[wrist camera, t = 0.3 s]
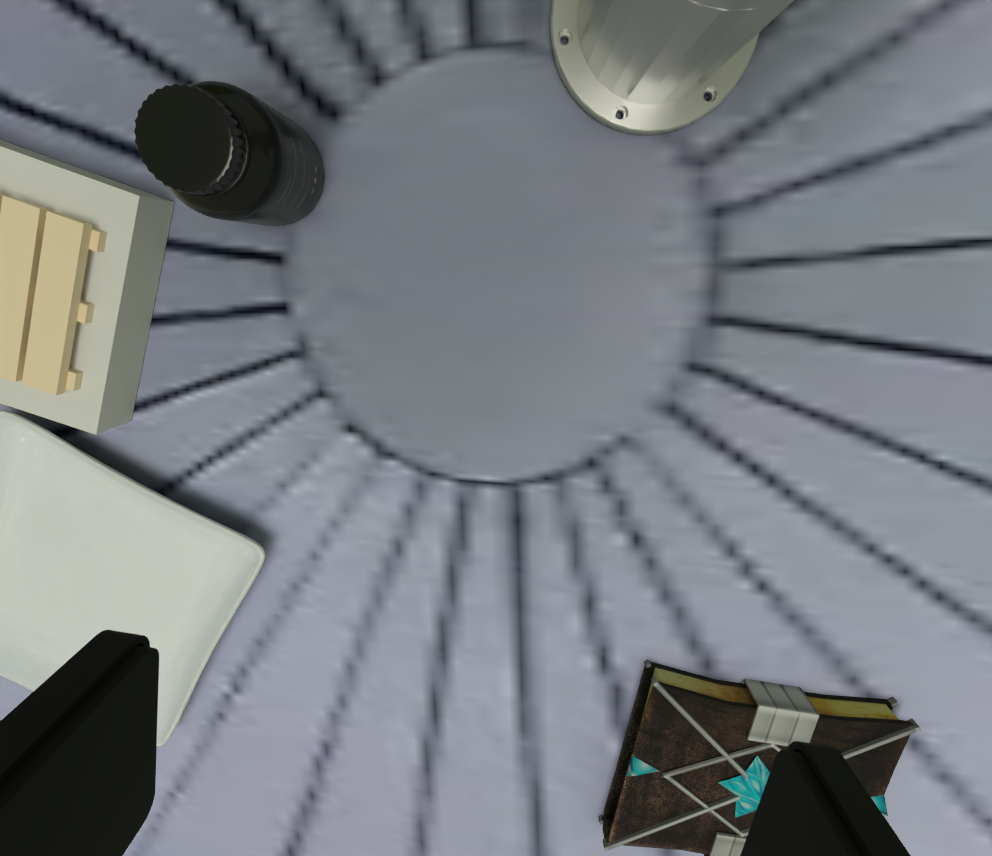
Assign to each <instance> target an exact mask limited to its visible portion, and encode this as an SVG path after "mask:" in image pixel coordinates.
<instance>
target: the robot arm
mask: <svg viewBox="0 0 992 856" xmlns="http://www.w3.org/2000/svg"><path fill="white" fill-rule="evenodd" d="M793 1H794V0H552V7H551V15H550V37H551V45H552V50H553V55H554V60H555V63H556V66H557V68H558V71H559V74H560V76H561V79H562V81H563V83H564V84H565V86H566V88H567V89H568V91H569V93H570V94H571V96H572V97H573V99H574V100H575V101H576V102H577V103H578V104H579V105H580V106H581V107H582V108H583V109H584V111H585V112H587V113H588V114H589V115H591V116H592V117H593V118H595V119H596V120H598V121H599V122H600V123H602V124H604V125H606V126H609V127H611V128H613V129H615V130H618V131H622V132H626V133H631V134H636V135H657V134H661V133H666V132H671V131H675V130H678V129H680V128H682V127H685V126H687V125H689V124H692V123H694V122H695V121H697V120H698V119H700V118H701V117H703V116H704V115H706V114H707V113H709V112H710V111H711V110H713V109H714V108H715V107H716V106H718V105H719V104H720V103H721V102H722V101H723V100H724V99H725V97H726V96H727V95H728V94H729V93H730V92H731V91H732V89H733V88H734V87H735V86H736V85H737V83H738V81H739V80H740V78H741V77H742V75H743V73H744V72H745V70H746V69H747V67H748V65H749V62H750V60H751V57H752V55H753V53H754V50H755V48H756V45H757V41H758V37H759V32H760V31H761V30H762V29H763V28H764V27H766V26H767V25H768V24H769V23H770V22H771V21H772V20H773V19H774V18H775V17H776V16H778V15H779V14H780V13H781V12H782V11H783V10H784V9H785V8H786V7H787V6H788V5H789V4H791V3H792V2H793ZM562 38H566V39H567V40H568V44H566V45H562V44H561V42H560V40H561V39H562ZM704 94H708V95H709V96H710V100H709V101H706V100H705V99H704V97H703V96H704ZM617 112H621V113H622V115H623V118H622V119H620V120H619V119H617V118H616V116H615V114H616V113H617ZM158 681H159V652H158V650H157V649H156V648H151V647H150V642H149V639H148V637H146V636H144V635H138V634H132V633H125V632H119V631H113V630H104V631H101V632H100V633H99V634H97V635H96V636H95V637H94V638H93V639H91V640H90V641H89V642H88V643H87V644H86V645H85V646H84V647H83V648H81V649H80V650H79V651H78V652H77V653H76V654H75V655H74V656H73V657H71V658H70V659H69V660H68V661H67V662H66V663H65V664H64V665H63V666H61V667H60V668H59V669H58V670H57V671H56V672H55V673H54V674H53V675H51V676H50V677H49V678H48V679H47V680H46V681H45V682H44V683H43V684H41V685H40V686H39V687H38V688H37V689H36V690H35V691H34V692H33V693H31V694H30V695H29V696H28V697H27V698H26V699H25V700H24V701H23V702H21V703H20V704H19V705H18V706H17V707H16V708H15V709H14V710H13V711H11V712H10V713H9V714H8V715H7V716H6V717H5V718H4V719H3V720H1V721H0V856H122V855H123V854H124V852H125V851H126V849H127V848H128V846H129V845H130V843H131V842H132V840H133V839H134V837H135V835H136V834H137V832H138V831H139V829H140V828H141V826H142V825H143V823H144V821H145V820H146V818H147V816H148V814H149V811H150V809H151V806H152V803H153V800H154V795H155V776H156V744H157V713H158ZM740 856H910V854H909V853H908V851H907V850H906V848H905V847H904V846H903V844H902V843H901V841H900V840H899V838H898V837H897V835H896V834H895V832H894V831H893V829H892V828H891V826H890V825H889V823H888V822H887V820H886V819H885V817H884V816H883V815H882V813H881V812H880V810H879V809H878V807H877V806H876V804H875V803H874V801H873V800H872V798H871V797H870V795H869V794H868V792H867V791H866V789H865V788H864V787H863V785H862V784H861V782H860V781H859V779H858V778H857V776H856V775H855V773H854V772H853V770H852V769H851V767H850V766H849V764H848V763H847V761H846V760H845V759H844V757H843V756H842V754H841V753H840V752H839V751H838V750H837V749H835V748H833V747H830V746H824V745H818V744H812V743H805V742H799V741H794V742H792V743H791V744H789V746H788V748H787V750H780V751H779V752H778V753H777V755H776V757H775V760H774V763H773V766H772V768H771V771H770V774H769V777H768V780H767V782H766V785H765V788H764V791H763V793H762V796H761V799H760V802H759V805H758V807H757V810H756V813H755V816H754V819H753V821H752V824H751V827H750V830H749V833H748V835H747V838H746V841H745V844H744V847H743V849H742V852H741V855H740Z"/></svg>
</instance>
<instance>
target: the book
mask: <svg viewBox="0 0 992 856" xmlns="http://www.w3.org/2000/svg"><path fill="white" fill-rule="evenodd" d="M644 663H645V668H644V671H643V675H642V679H641V683H640V686H639V690H638V694H637V698H636V702H635V705H634V709H633V713H632V716H631V720H630V723H629V727H628V731H627V734H626V738H625V741H624V745H623V748H622V752H621V756H620V759H619V763H618V766H617V770H616V773H615V776H614V780H613V783H612V786H611V789H610V792H609V796H608V799H607V802H606V805H605V808H604V814H603V815H604V818H602V815H600V816H599V822H600V823H601V824H603V833H604V839H603V845H604V849H605V850H606V851H607V850H610V849H612V848H615V847H618V846H620V845H626V846H639V847H652V848H664V849H677V850H685V851H690V852H696V853H702V854H704V856H740V855H741V852H742V849H743V847H744V844H745V841H746V838H747V835H748V833H749V830H750V827H751V824H752V821H753V819H754V816H755V813H756V810H757V807H758V805H759V802H760V799H761V796H762V793H763V791H764V788H765V785H766V782H767V780H768V777H769V774H770V771H771V768H772V766H773V763H774V760H775V757H776V755H777V753H778V752H779V751H780V750H787V748H788V746H789V744H791V743H792V742H794V741H799V742H805V743H812V744H818V745H824V746H830V747H833V748H835V749H837V750H838V751H839V752H840V753H841V754H842V756H843V757H844V759H845V760H846V761H847V763H848V764H849V766H850V767H851V769H852V770H853V772H854V773H855V775H856V776H857V778H858V779H859V781H860V782H861V784H862V785H863V787H864V788H865V789H866V791H867V792H868V794H869V795H870V797H871V798H872V800H873V801H874V803H875V804H876V806H877V807H878V809H879V810H880V812H881V813H882V815H884V816H888V815H887V809H886V803H885V797H884V794H885V791H886V789H887V786H888V784H889V781H890V779H891V777H892V774H893V772H894V769H895V767H896V765H897V763H898V760H899V758H900V756H901V754H902V752H903V749H904V747H905V745H906V743H907V741H908V738H909V736H910V734H912V733H915V732H918V731H920V730H921V729H920V727H919V726H918V725H917V724H916V722H915V721H914V720H913V719H910V720H907V721H903V720H899V719H898V718H897V717H896V716H895V715H894V714H893V712H892V708H893V707H896V706H898V702H897V701H896V700H895V699H894V698H893V697H891V698H889V699H875V698H861V697H848V696H834V695H822V694H815V693H808V692H803V690H802V689H801V688H800V687H793V686H787V685H781V684H774V683H768V682H762V681H756V680H749V679H744V680H743V681H744V682H745V684H742V683H735V682H728V681H721V680H715V679H711V678H708V677H704V676H701V675H697V674H693V673H690V672H686V671H682V670H679V669H675V668H672V667H668V666H664V665H661V664H657V663H653V662H650V661H649V660H648V659H647V660H646V661H645V662H644Z"/></svg>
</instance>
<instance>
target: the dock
mask: <svg viewBox="0 0 992 856" xmlns="http://www.w3.org/2000/svg"><path fill="white" fill-rule="evenodd" d="M174 203H175V202H172V201H170V200H167V199H164V198H161V197H158V196H156V195H153V194H150V193H147V192H144V191H142V190H139V189H136V188H133V187H130V186H128V185H125V184H122V183H119V182H117V181H114V180H111V179H108V178H105V177H103V176H100V175H97V174H94V173H91V172H89V171H86V170H83V169H80V168H77V167H75V166H72V165H69V164H66V163H63V162H61V161H58V160H55V159H52V158H49V157H47V156H44V155H41V154H38V153H36V152H33V151H30V150H27V149H24V148H22V147H19V146H16V145H13V144H10V143H8V142H5V141H2V140H0V403H1V404H4V405H7V406H10V407H13V408H16V409H19V410H22V411H25V412H28V413H31V414H34V415H37V416H40V417H44V418H47V419H50V420H53V421H56V422H59V423H62V424H65V425H68V426H71V427H74V428H77V429H80V430H83V431H86V432H89V433H92V434H95V435H97V434H99V433H102V432H104V431H106V430H109V429H111V428H114V427H116V426H118V425H121V424H123V423H126V422H128V421H130V420H132V415H133V410H134V405H135V400H136V395H137V390H138V385H139V380H140V375H141V370H142V365H143V360H144V355H145V350H146V345H147V339H148V334H149V329H150V324H151V319H152V314H153V309H154V304H155V299H156V294H157V289H158V284H159V279H160V274H161V268H162V263H163V258H164V253H165V248H166V243H167V238H168V233H169V228H170V223H171V218H172V213H173V208H174Z"/></svg>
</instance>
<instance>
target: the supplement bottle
mask: <svg viewBox="0 0 992 856" xmlns="http://www.w3.org/2000/svg"><path fill="white" fill-rule="evenodd" d="M135 123H136V128H135V130H134V132H135V135H136V139H135V142H136V144H137V146H138V153H139V154H140V155H141V156H142V161H143V163H144V164H145V165H147V167H148V170H149V171H150V172H151V173H153V174H154V176H155V177H156V179H157V180H160V181H162V182H163V184H164V185H165V186H168V187H169V188H170V189H171V190H172V192H173V193H174V194H175V195H176V196H177V197H178V198H179V199H180V200H181V201H182V202H183V203H185V204H186V205H187V206H189V207H190V208H192V209H193V210H195V211H197V212H199V213H201V214H203V215H206V216H209V217H212V218H217V219H222V220H229V221H237V222H245V223H253V224H260V225H270V226H280V225H287V224H290V223H293V222H296V221H298V220H300V219H301V218H303V217H304V216H305V215H307V214H308V213H309V212H310V211H311V209H312V208H313V207H314V205H315V204H316V202H317V200H318V198H319V196H320V193H321V190H322V185H323V167H322V162H321V158H320V155H319V152H318V150H317V148H316V146H315V144H314V142H313V141H312V139H311V138H310V137H309V136H308V134H307V133H306V132H305V131H304V130H303V129H302V128H301V127H299V126H298V125H297V124H295V123H294V122H293V121H291V120H290V119H288V118H287V117H285V116H284V115H282V114H281V113H279V112H278V111H276V110H274V109H273V108H271V107H270V106H268V105H267V104H265V103H264V102H262V101H260V100H259V99H257V98H256V97H254V96H253V95H251V94H250V93H248V92H246V91H244V90H242V89H240V88H238V87H236V86H233V85H231V84H228V83H223V82H217V81H204V82H198V83H194V84H191V85H182V86H181V85H178V84H174V85H172V86H165V87H163V88H162V89H157V90H156V91H155V92H154V93H153V94H150V95H149V96H148V98H147V100H145V101H144V102H143V103H142V107H141V108H140V109H139V110H138V117H137V118H136V120H135Z"/></svg>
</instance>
